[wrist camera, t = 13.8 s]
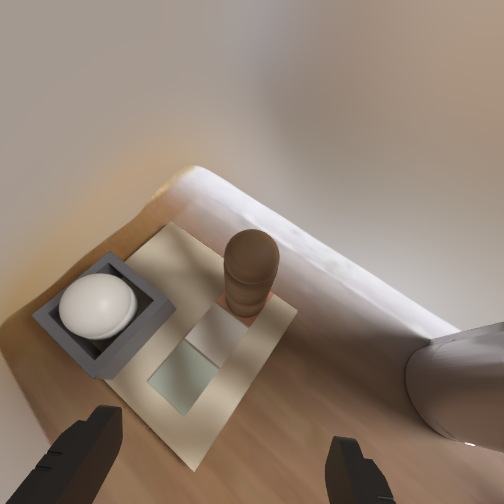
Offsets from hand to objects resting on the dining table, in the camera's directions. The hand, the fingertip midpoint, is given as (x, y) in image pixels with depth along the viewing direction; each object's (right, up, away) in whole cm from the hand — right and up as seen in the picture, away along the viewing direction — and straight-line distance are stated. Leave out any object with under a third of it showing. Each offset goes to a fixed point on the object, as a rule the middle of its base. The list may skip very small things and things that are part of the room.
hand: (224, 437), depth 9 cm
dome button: (-14, 0, +17) cm, 22 cm away
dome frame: (-14, 0, +18) cm, 23 cm away
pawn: (0, +1, +20) cm, 20 cm away
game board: (-7, -1, +20) cm, 21 cm away
